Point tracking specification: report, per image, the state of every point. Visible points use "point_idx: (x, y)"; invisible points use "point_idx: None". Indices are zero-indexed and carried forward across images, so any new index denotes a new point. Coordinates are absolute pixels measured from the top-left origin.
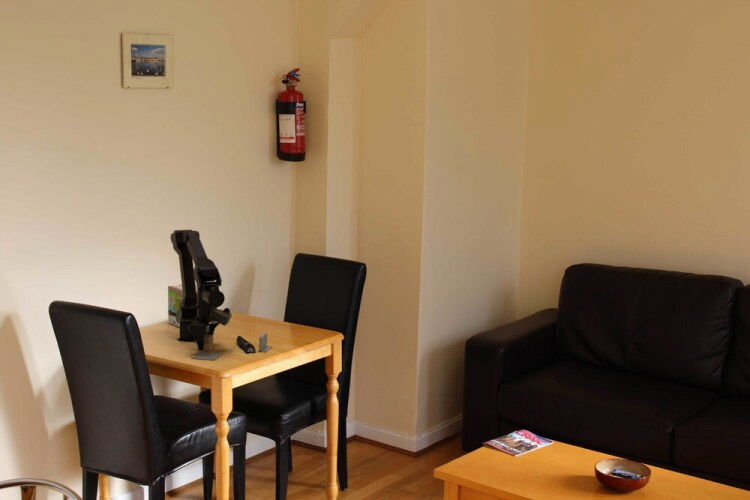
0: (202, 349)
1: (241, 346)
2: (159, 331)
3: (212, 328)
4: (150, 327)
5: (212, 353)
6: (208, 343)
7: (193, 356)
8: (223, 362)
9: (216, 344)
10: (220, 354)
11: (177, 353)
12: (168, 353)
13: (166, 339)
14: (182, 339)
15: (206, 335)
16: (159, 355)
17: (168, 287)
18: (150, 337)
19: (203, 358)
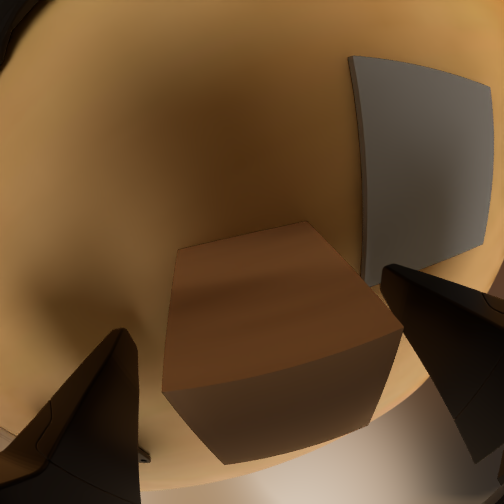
0: (397, 265)
1: (10, 31)
2: None
3: (62, 483)
4: None
5: (383, 150)
6: (350, 279)
7: (463, 248)
8: (484, 31)
9: (35, 303)
10: (386, 62)
11: None
12: (388, 384)
13: (166, 471)
14: (141, 454)
15: (263, 427)
16: (417, 380)
17: None
18: (180, 486)
19: (489, 167)
